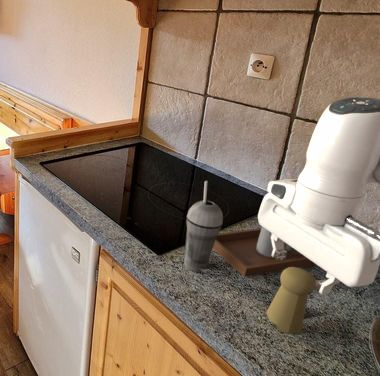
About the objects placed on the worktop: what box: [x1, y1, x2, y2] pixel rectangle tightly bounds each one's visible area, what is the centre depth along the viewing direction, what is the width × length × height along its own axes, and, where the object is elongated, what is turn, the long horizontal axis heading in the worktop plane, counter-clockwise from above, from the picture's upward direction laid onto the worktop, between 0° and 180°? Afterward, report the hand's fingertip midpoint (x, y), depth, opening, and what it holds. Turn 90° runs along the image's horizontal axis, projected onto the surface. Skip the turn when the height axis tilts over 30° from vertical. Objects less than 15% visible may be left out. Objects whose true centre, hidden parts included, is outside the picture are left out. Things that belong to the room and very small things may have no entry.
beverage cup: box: [183, 180, 224, 272], centre depth 85 cm, size 7×7×20 cm
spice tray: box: [212, 227, 318, 278], centre depth 93 cm, size 24×14×3 cm, turn 105°
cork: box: [266, 267, 317, 335], centre depth 72 cm, size 6×6×11 cm
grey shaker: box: [256, 226, 287, 258], centre depth 91 cm, size 6×6×9 cm
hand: (298, 274), depth 69 cm, fingers open, 8 cm apart
